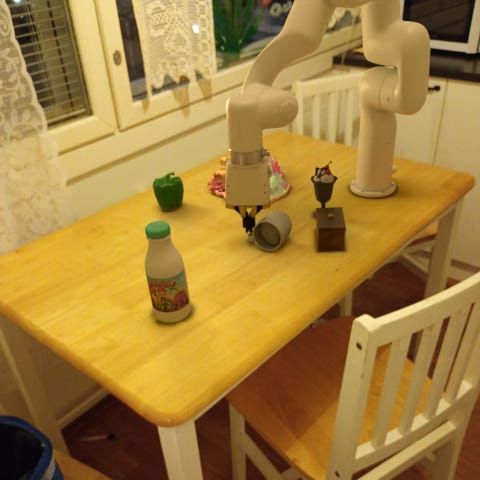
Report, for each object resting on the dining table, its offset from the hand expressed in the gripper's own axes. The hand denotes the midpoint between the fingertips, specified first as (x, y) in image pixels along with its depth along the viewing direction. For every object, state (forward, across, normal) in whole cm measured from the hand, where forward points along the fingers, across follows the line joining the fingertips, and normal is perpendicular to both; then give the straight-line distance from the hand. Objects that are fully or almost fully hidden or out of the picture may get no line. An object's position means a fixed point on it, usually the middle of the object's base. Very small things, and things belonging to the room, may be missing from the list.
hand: (249, 230), depth 127 cm
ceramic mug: (+4, -4, 0) cm, 6 cm away
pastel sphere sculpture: (+3, +2, -34) cm, 34 cm away
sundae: (+3, -18, -14) cm, 23 cm away
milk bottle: (+4, +14, +28) cm, 31 cm away
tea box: (+3, -19, -1) cm, 20 cm away
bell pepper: (+4, +24, -22) cm, 33 cm away
